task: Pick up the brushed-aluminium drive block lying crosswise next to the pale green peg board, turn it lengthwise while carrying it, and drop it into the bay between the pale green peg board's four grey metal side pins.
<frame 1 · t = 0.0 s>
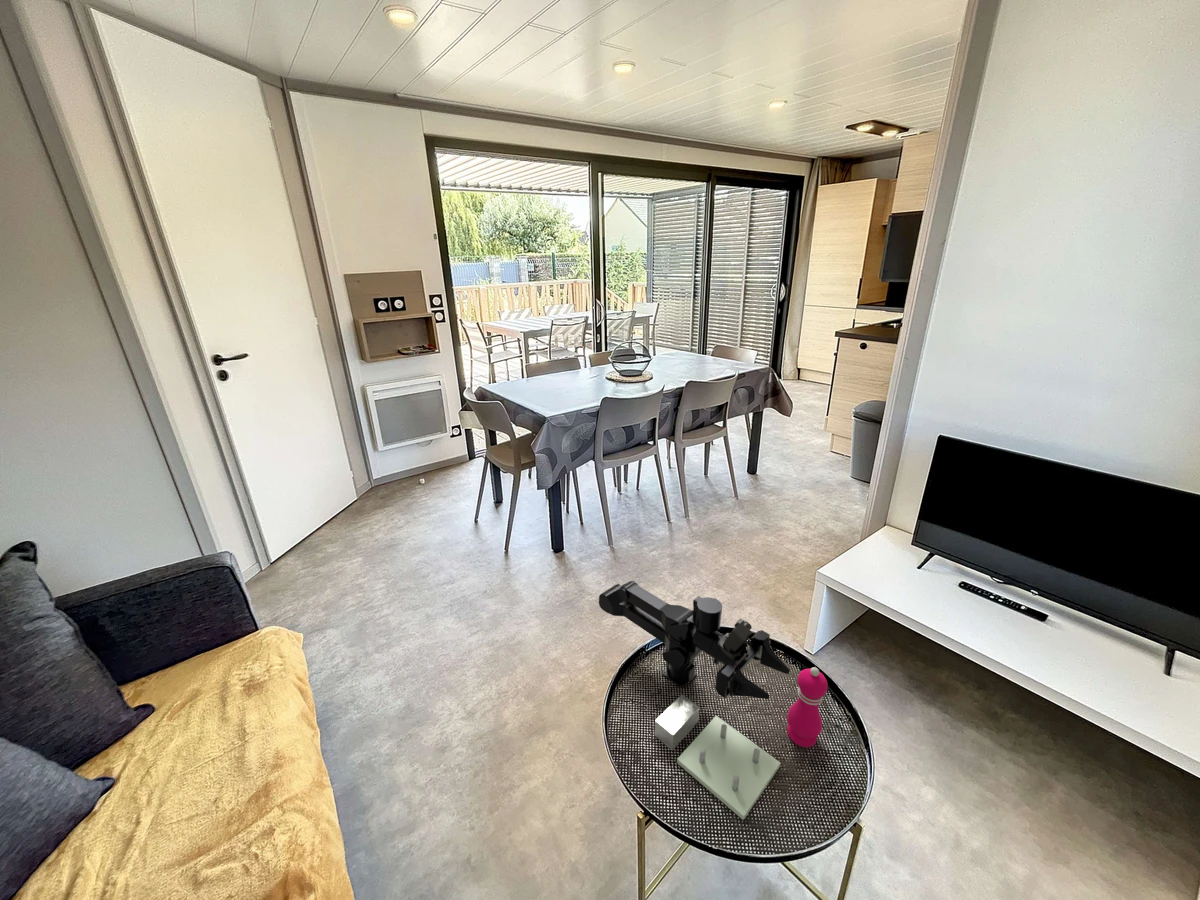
hand: (779, 684, 102), 17 cm above the table, tool horizontal, fingers open, 9 cm apart
drive: (676, 729, 111), on the table
pepper mill: (801, 735, 109), on the table
pale green peg board: (728, 764, 103), on the table
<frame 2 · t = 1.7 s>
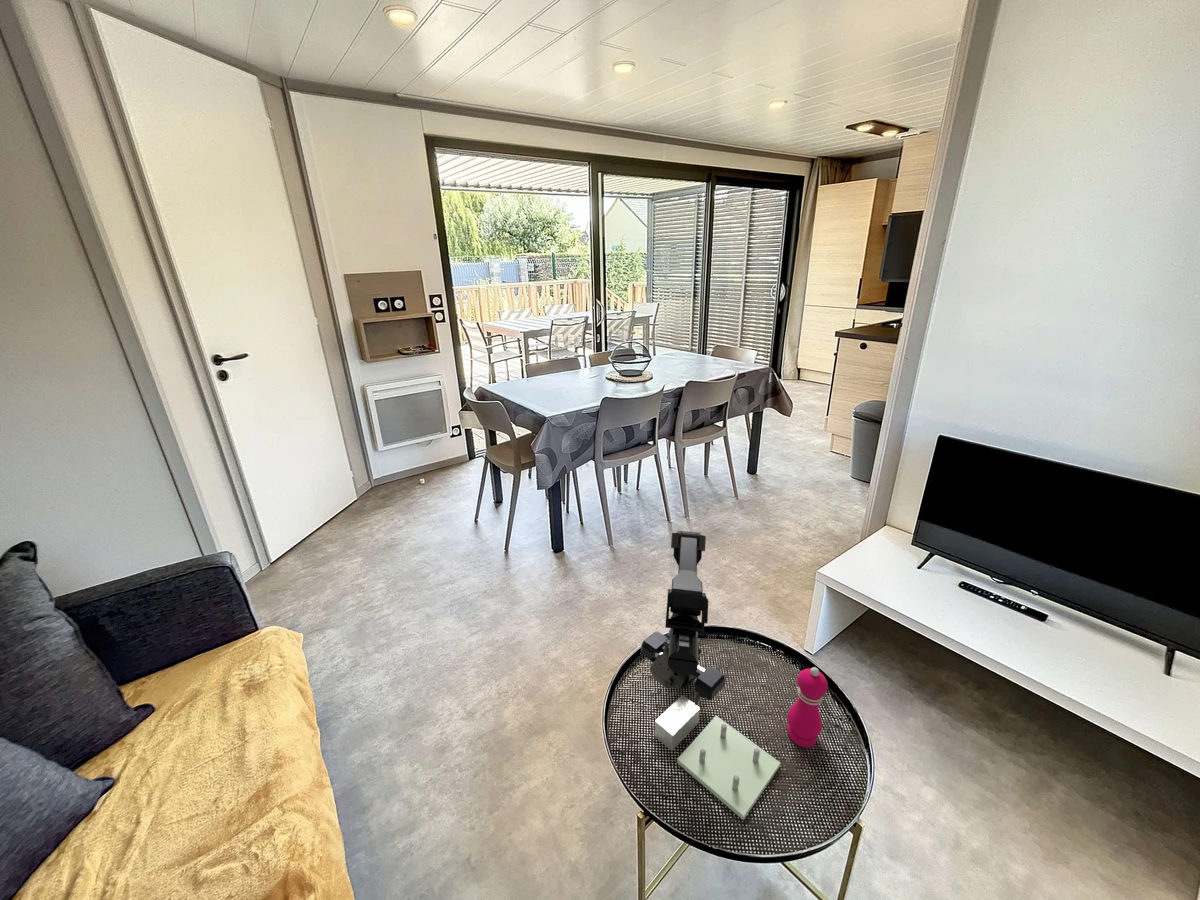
hand: (679, 691, 107), 11 cm above the table, tool pointing down, fingers open, 9 cm apart
nothing on the table moved.
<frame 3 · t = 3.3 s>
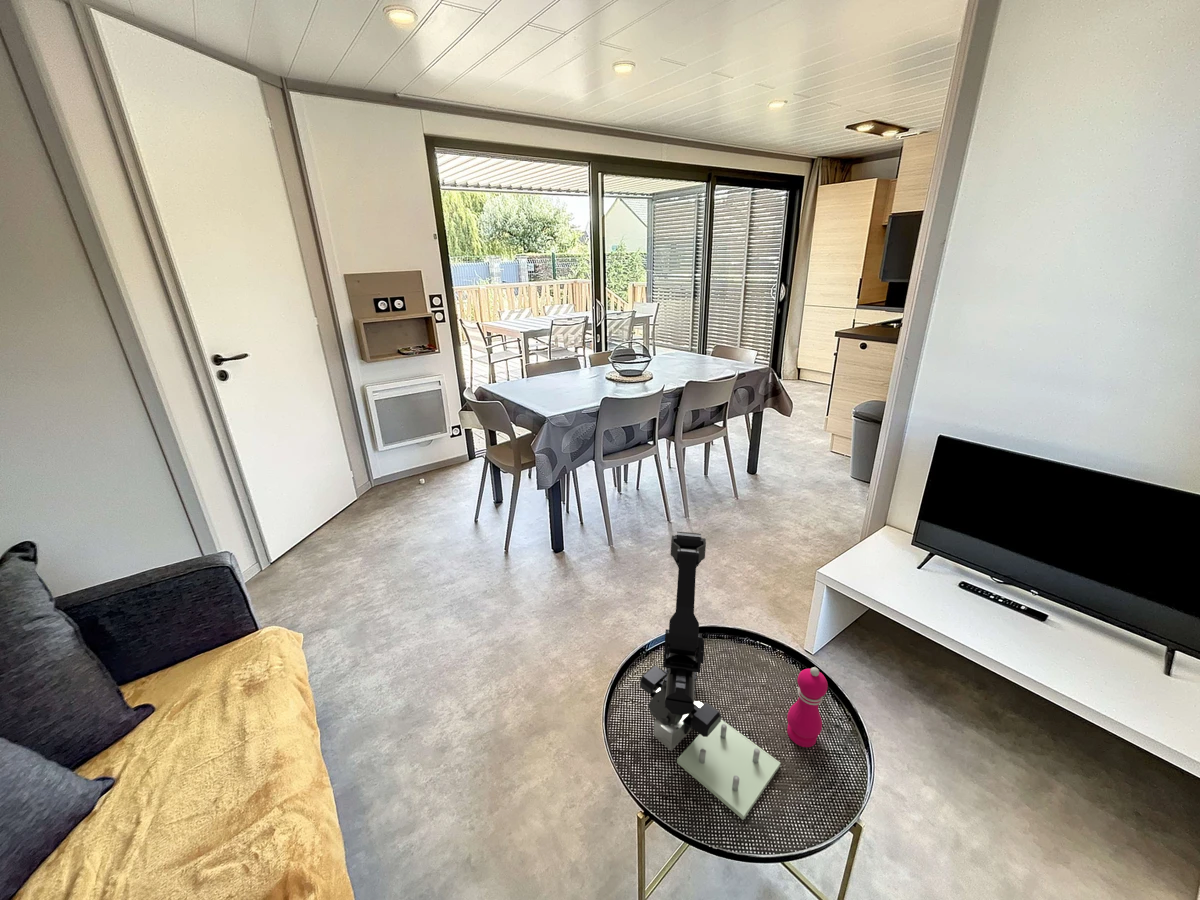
hand: (677, 725, 111), 1 cm above the table, tool pointing down, fingers closed on drive, 5 cm apart
drive: (676, 729, 111), on the table, touching gripper
everything else where it was.
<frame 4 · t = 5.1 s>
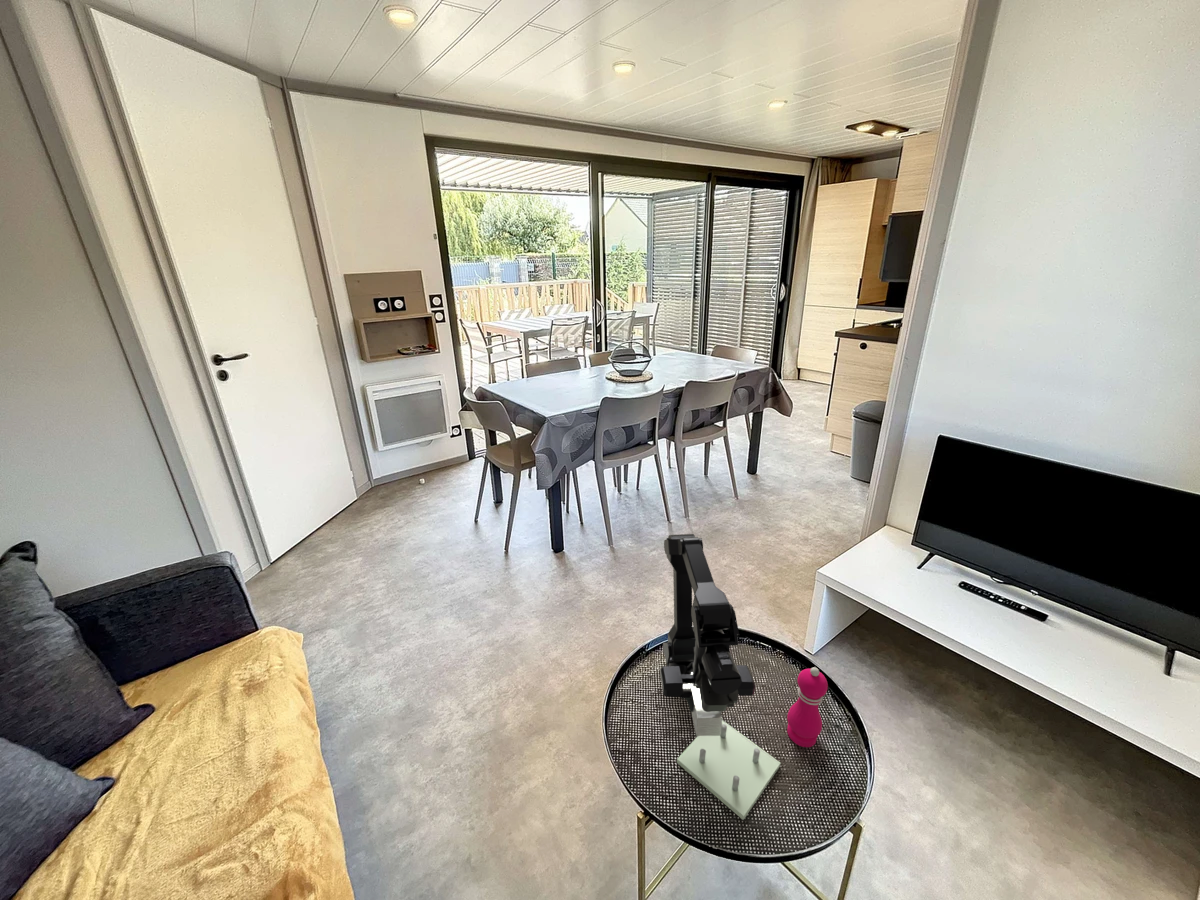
hand: (703, 709, 102), 11 cm above the table, tool pointing down, fingers closed on drive, 5 cm apart
drive: (703, 714, 103), point 10 cm above the table, touching gripper
everything else where it was.
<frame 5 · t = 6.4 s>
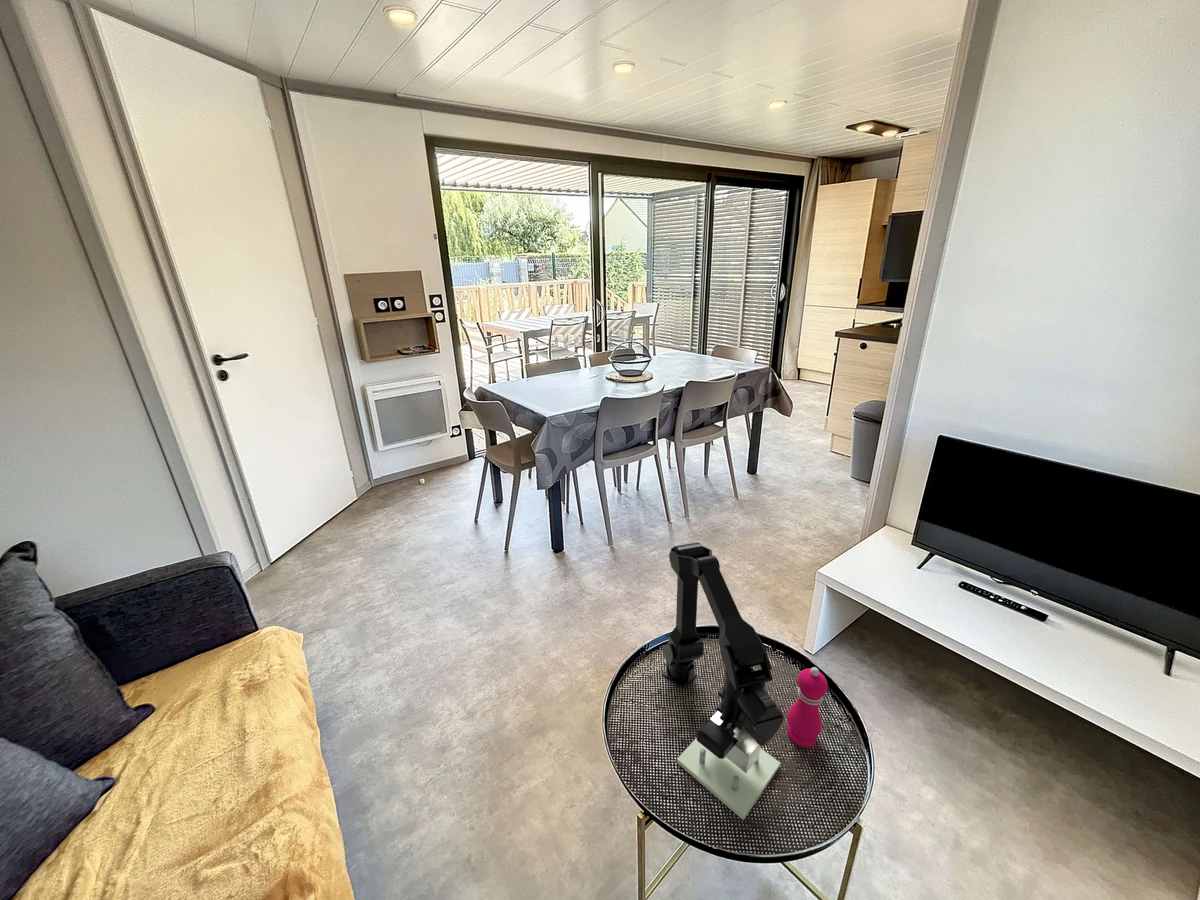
hand: (730, 744, 101), 6 cm above the table, tool pointing down, fingers closed on drive, 5 cm apart
drive: (731, 748, 101), point 5 cm above the table, touching gripper
everything else where it was.
when the fingers open (4 cm above the table, at t = 7.3 s): drive drops 1 cm, resting on pale green peg board.
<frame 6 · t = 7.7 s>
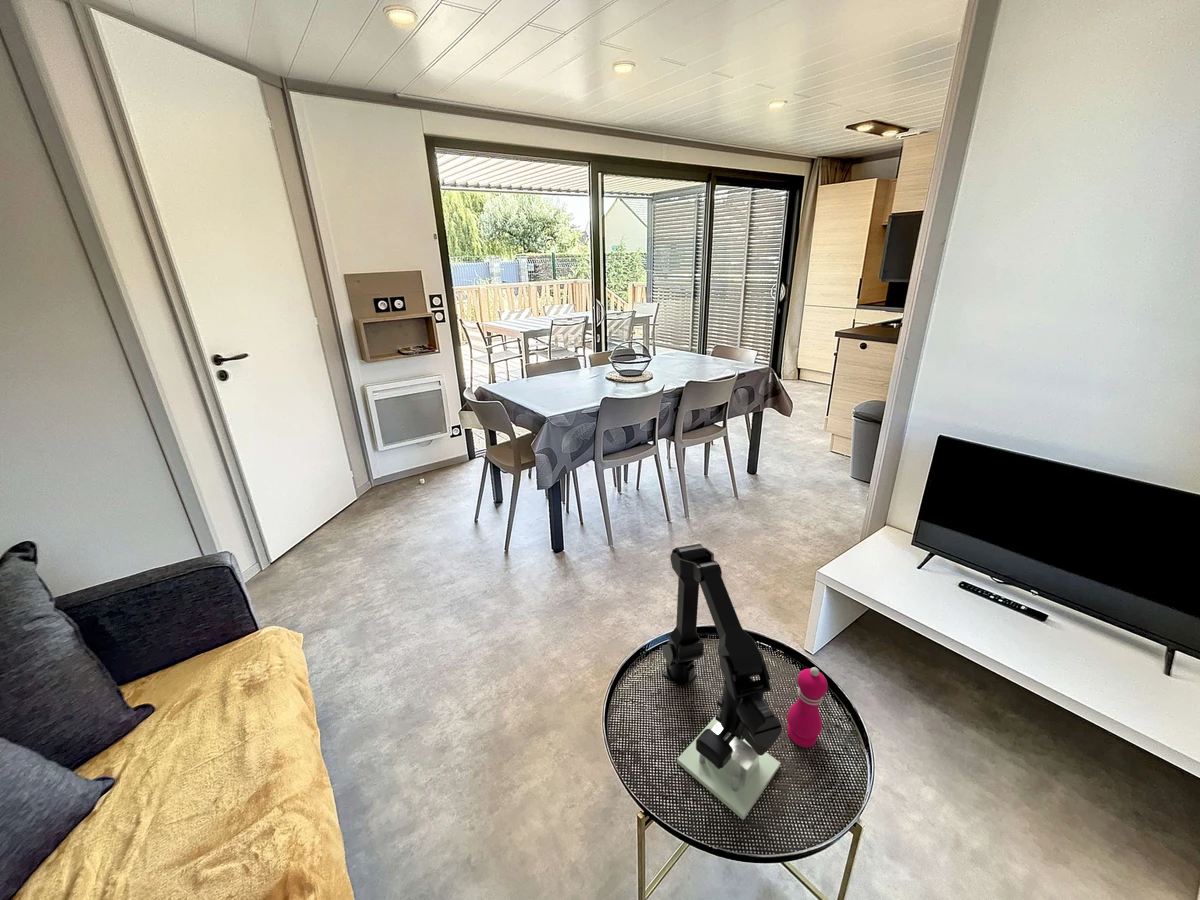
hand: (729, 752, 102), 4 cm above the table, tool pointing down, fingers open, 9 cm apart
drive: (729, 761, 102), point 1 cm above the table, touching pale green peg board
everything else where it was.
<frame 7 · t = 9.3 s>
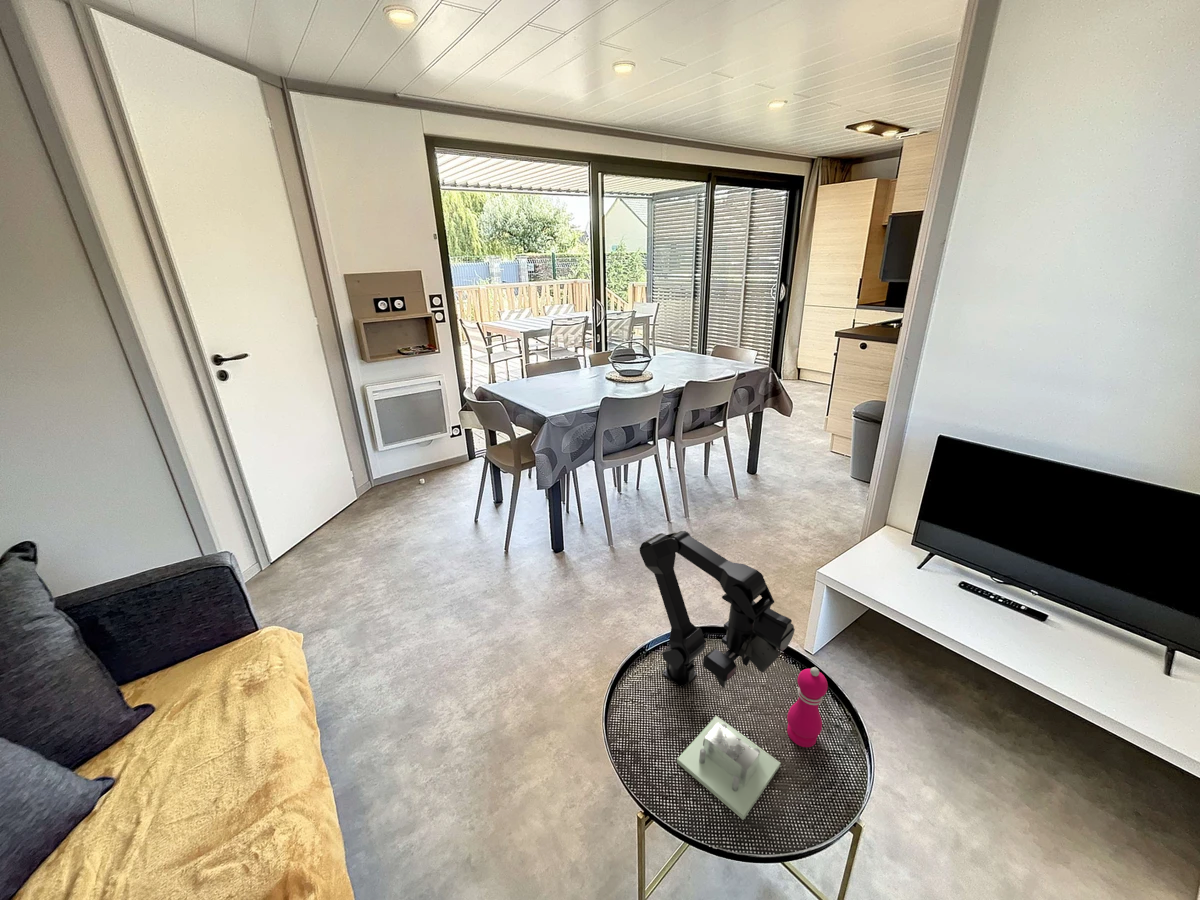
hand: (734, 675, 111), 12 cm above the table, tool pointing down, fingers open, 9 cm apart
nothing on the table moved.
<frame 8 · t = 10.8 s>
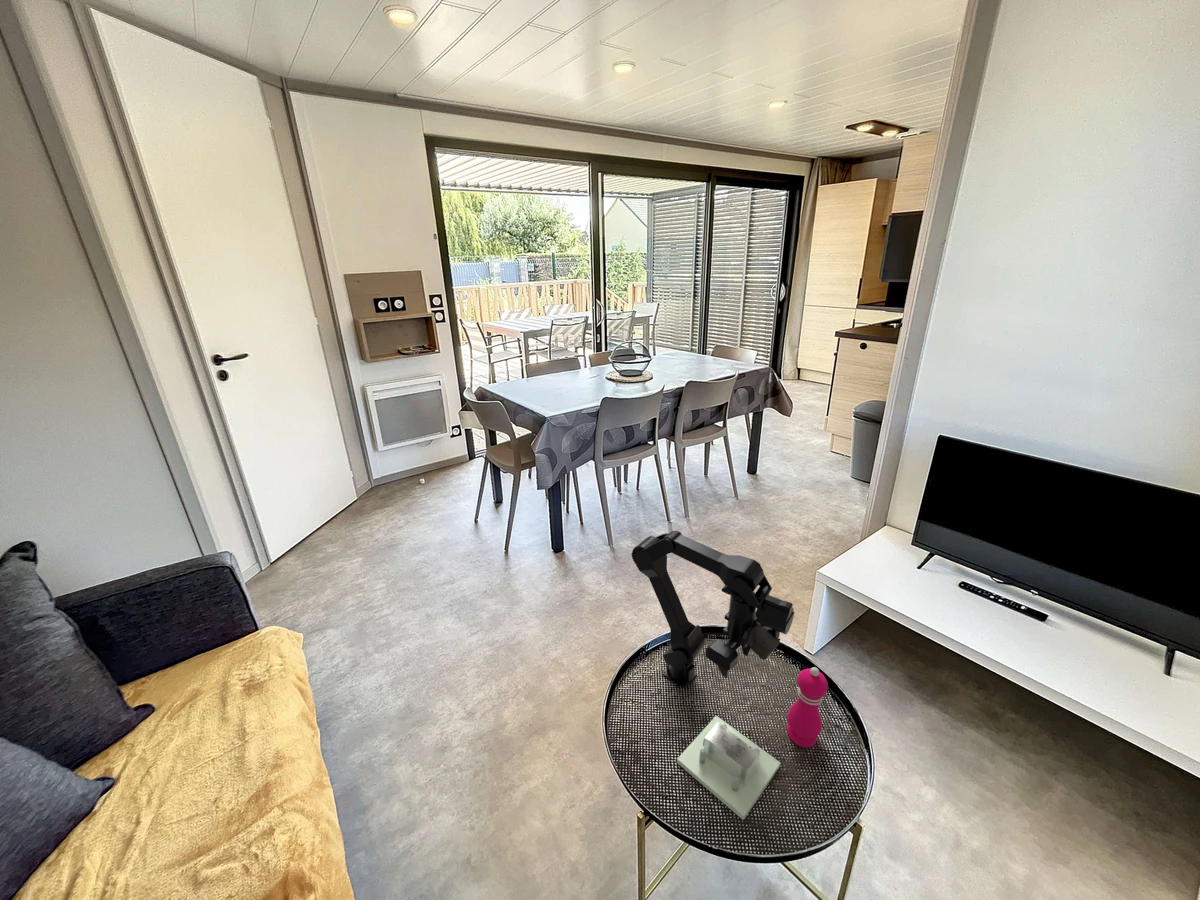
hand: (735, 665, 113), 12 cm above the table, tool pointing down, fingers open, 9 cm apart
nothing on the table moved.
at the end: drive 0.2 cm off-centre on the pale green peg board, point 1.2 cm above the pale green peg board's base; drive tilted 0°; the gripper is holding nothing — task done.
